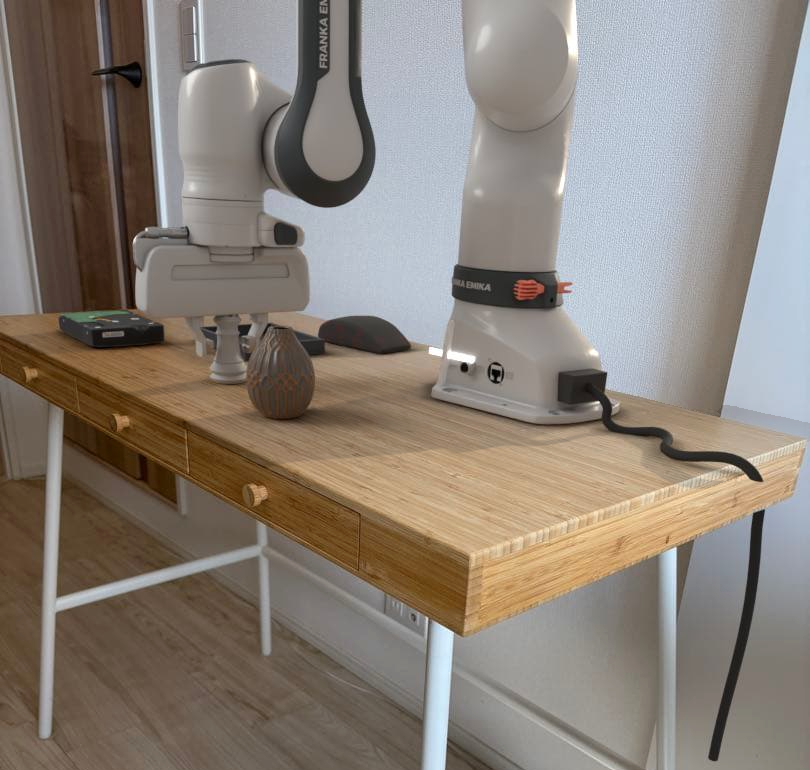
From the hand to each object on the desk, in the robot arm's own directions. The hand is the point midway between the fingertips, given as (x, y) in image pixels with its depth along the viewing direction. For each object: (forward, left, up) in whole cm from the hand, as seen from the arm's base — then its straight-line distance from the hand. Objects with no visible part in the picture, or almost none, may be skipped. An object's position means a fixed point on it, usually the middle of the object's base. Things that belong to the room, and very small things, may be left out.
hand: (228, 353), depth 97 cm
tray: (+17, -13, -3) cm, 22 cm away
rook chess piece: (0, 0, -3) cm, 3 cm away
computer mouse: (+13, -28, -3) cm, 31 cm away
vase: (-16, +2, -3) cm, 16 cm away
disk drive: (+31, +3, -3) cm, 32 cm away
